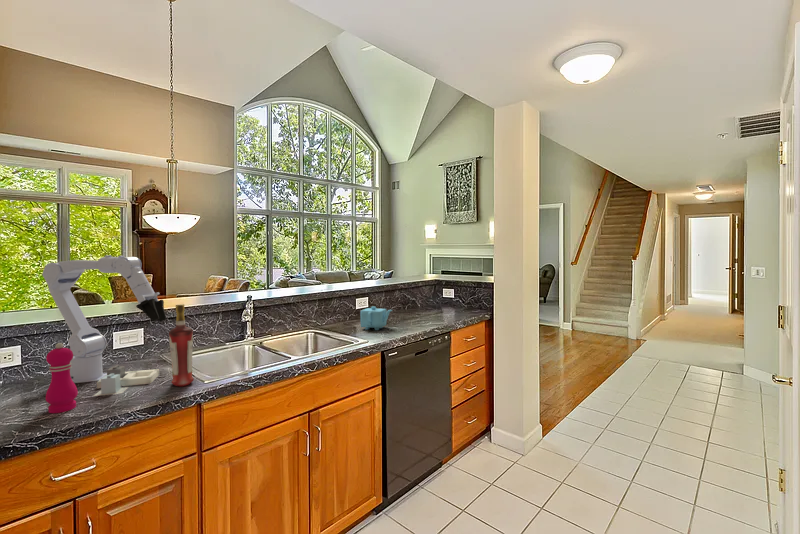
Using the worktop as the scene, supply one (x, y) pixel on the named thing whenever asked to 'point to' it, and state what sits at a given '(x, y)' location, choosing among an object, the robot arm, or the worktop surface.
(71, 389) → the pepper mill
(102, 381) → the plug
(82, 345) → the robot arm
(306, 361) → the worktop surface
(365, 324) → the teapot
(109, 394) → the mat
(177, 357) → the liquor
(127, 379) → the white tray
